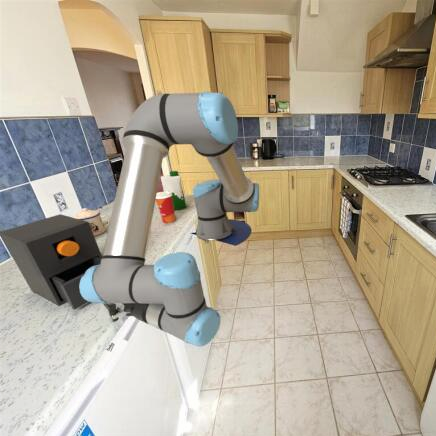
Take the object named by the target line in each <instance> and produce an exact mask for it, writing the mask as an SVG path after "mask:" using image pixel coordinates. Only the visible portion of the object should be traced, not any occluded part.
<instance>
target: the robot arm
mask: <svg viewBox="0 0 436 436" xmlns="http://www.w3.org/2000/svg"><path fill="white" fill-rule="evenodd" d="M238 136H239V123H238V120H237V113H236V110H235V107H234V105H233V103H232V101H231V100H230V99H229V98H228V96H227V95H225V94H223V93H221V92H211V91H202V92H182V93H181V92H179V93H178V92H176V93H158V94H155V95H152V96H150V97H148V98H147V99H145V100H144V101H143V102H142V103H141V104H140V105H138V107H137V108H136V109H135V111H134V112H133V113H132V115H131V116H130V118H129V121H128V122H127V124H126V126H125V129H124V132H123V136H122V140H121V142H122V145H123V147H124V148H125V152H124V157H123V161H122V166H121V171H120V174H119V179H118V183H117V188H116V193H115V198H114V202H113V207H112V211H111V215H110V224H109V225H108V229H107V234H106V238H105V243H104V246H103V247H104V248H103V252H102V259H101V264H100V265H96V266H93V267H91V268H89V269H88V270H87V271H86V272H85V275H84V276H83V277H82V278H81V281H80V285H79V288H80V293H81V295H82V297H83V298H84V299H85V300H87V301H89V302H88V303H94V304H103V305H104V307H105V308H106V309H107V310H108V314H109V316H110V318H111V320H112V322H113V323H115V322H118V321H119V320H120V317H123V316H126V317H133V318H135V319H136V320H138V321H140V322H142V323H145V324H147V325H149V326H152V327H154V328H155V329H158V330H160V331H162V332H164V333H167V334H169V335H170V336H173V337H175V338H177V339H179V340H181V341H183V342H184V343H186V344H190V345H192V346H195V347H205V346H206V345H208V344H210V343H211V341H213V339H214V338H215V337H216V335H217V333H218V332H219V329H220V326H221V315H220V313H219V311H217V310H216V309H214V308H213V307H210V306H207V301H206V297H205V295H204V289H203V284H202V279H201V272H200V270H199V267H198V263H197V260H196V258H195V257H194V255H193V254H191V253H189V252H184V251H177V252H175V253H169V254H168V253H167V254H166V255H164V256H162V257H160V258H159V259H158V260H157V261H156V262H155V263H154V264H145V263H146V256H147V251H148V245H149V239H150V234H151V228H152V223H153V218H154V217H153V216H154V210H155V206H156V195H157V193H158V188H159V183H160V178H161V171H162V166H163V161H164V159H165V158H167V157H168V156H169V153H170V148H171V147H172V146H173V145H191V146H192V148H193V149H194V151H195V152H196V153H197V154H198V155H199V156H202V157H204V158H206V160H207V161H208V163H209V165H210V167H211V168H212V170H213V171H214V173H215V175H216V176H217V178H218V179H217V178H215V179H209V180H205V181H201V182H199V183H196V184H195V185H194V186H193V188H192V194H193V195H192V196H193V200H194V205H195V210H196V215H197V226H196V229H195V232H196V233H197V235H196V237H197V239H199V240H201V241H206V242H208V241H209V242H210V241H216V242H220V240H223V239H226V238H228V237H229V236H231V235H232V233H233V232H234V233H236V231H235V230H234V229H233V227H232V225H231V223H230V221H229V219H230V218H229V217H228V214H227V213H254V212H255V213H256V212H257V211H259V207H260V206H259V205H260V184H259V183H256V182H252V180H251V179H250V178H249V177H247V176H246V174H245V172H244V169H243V166H242V164H241V161H240V159H239V157H238V154H237V152H236V149H235V147H234V144H235V142H236V141H237V140H238ZM117 304H122V305H123V309H122V308H121V307H119V306H117Z"/></svg>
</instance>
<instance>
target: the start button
mask: <svg viewBox="0 0 436 436" xmlns="http://www.w3.org/2000/svg"><path fill="white" fill-rule="evenodd" d="M56 249H57V252H58V253H59V254H62V255H64V256H73V255H75V254H76V253H77V252H78V251H79V245H78V244H77V243H76V242H73V241H70V240H65V241H62V242H60V243H59V244H58V245H57V248H56Z"/></svg>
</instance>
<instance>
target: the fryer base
mask: <svg viewBox="0 0 436 436" xmlns="http://www.w3.org/2000/svg"><path fill="white" fill-rule="evenodd" d="M102 256H103V253H102V251H100V252H98V253H96V254H94V255H92V256H89V257H87V258H85V259H83V260H80V261H78V262H76V263H74V264H71V265H69V266H67V267H65V268H63V269H60V270H58V271H56V272H54V273H51V274H49V275H47V276H45V277H42V276H40V275H38V274H36V273H34V272H32V271H30V270H28V269H26V268H24V267H22V266H20V265H18V264H16V266H17V268H18V270H19V271H20V273H21V275H22V277H23V279H24V280H25V282H26V284H27V285H28V287H29V289H30V290H31V292H33V293H34V294H36V295H38V296H40V297H41V298H43V299H46V300H48V302H49V301H50V302H51V303H52V304H54V305H56V306H58V307H60V306H62V305H64V304H66V303H68V302H67V301H65V300H63V299H61V298H59V297H58V295H57V293H56V291H55V289H54V287H53V285H52V283H51V281H50V279H49V278H50V277H52V276H55V275H57V274H59V273H61V272H63V271H66V270H68V269H70V268H72V267H74V266H76V265H79V264H81V263H83V262H85V261H87V260H90V259H92V258H94V257H98V258H101V259H102Z"/></svg>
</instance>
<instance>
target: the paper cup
mask: <svg viewBox="0 0 436 436" xmlns="http://www.w3.org/2000/svg"><path fill="white" fill-rule="evenodd" d="M155 203H156V205H157V208H158V212H159V214H160V217H161V220H162V222H163V223H164V224H170V223H173V222H175V221H176V213H175V211H174V206H173V200H172V194H171V192H169V191H166V192H164V191H159V192H158V191H157V195H156V200H155Z"/></svg>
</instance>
